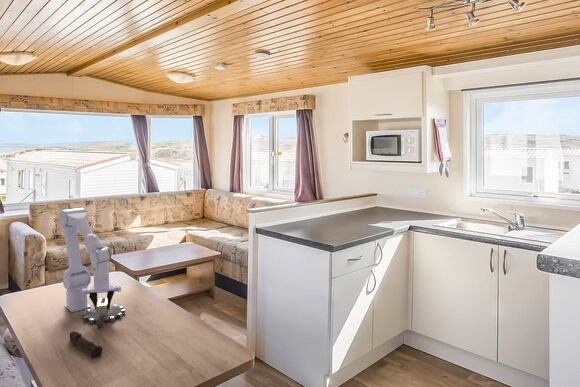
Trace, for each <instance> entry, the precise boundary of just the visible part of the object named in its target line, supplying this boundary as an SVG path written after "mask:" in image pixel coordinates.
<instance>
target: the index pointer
mask: <svg viewBox="0 0 580 387" xmlns="http://www.w3.org/2000/svg"><path fill="white" fill-rule="evenodd" d="M104 323H105V322H103V320H98V321H97V322H96V330H103V329H104V325H105V324H104Z"/></svg>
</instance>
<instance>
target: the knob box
mask: <svg viewBox="0 0 580 387" xmlns="http://www.w3.org/2000/svg"><path fill="white" fill-rule="evenodd" d="M97 302H98V303H97V305H96V320H97V319H106V318H107V316H108V313H109V310H110V309H109V310H108V307H107V303H108V302H107V297H102V298H99V299H97Z"/></svg>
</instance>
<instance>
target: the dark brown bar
mask: <svg viewBox="0 0 580 387" xmlns="http://www.w3.org/2000/svg"><path fill="white" fill-rule="evenodd" d="M68 337H69V342H70V344H71V345H72V346H73V347H74V348H78V349H80V350H81V351H83V352H84V353H86V354H88V355H89V356H90V358H91V359H92V360H94V359H97V358H99V357H101V356H102V354H103V346H100V345H98V344H95V343H94V342H93V341H90V340H88V339H86V338H84V337H83V336H82V333H79V332H78V331H75V330H72V331H71V332H69V336H68Z"/></svg>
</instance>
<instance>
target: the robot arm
mask: <svg viewBox="0 0 580 387" xmlns="http://www.w3.org/2000/svg"><path fill="white" fill-rule="evenodd" d="M57 218H58V219H57V220H58V224H59V228H60V230H63V236H64V240H65V241H64V243H65V248H66V255H67V261H68V266H69V267H68V268H66V270H64V271H63V273H62V274H63V276H62V277H63V279H62V284H63V287H64V289H65V290H66V292H65V293H66V294H65V296H66V304H65V305H64V308H66V309H67V310H69V311H70V312H72V313H75V312H78V311H82V310H86V309H89V308H91V307H92V305H93V308H94V307H95V311H96V305H97V303H98V294H102V293H106V298H107V302H108V303H107V307H108V310H109V309H110V305H111V302H112V299H113V297H114V294H115V292H118V293H119V292H122V286H121V285H110V271H109V270H110V269H109V261H111V259H112V252H111V249H110V248H109V247H108V246H106V245H103V243H102V241H101V240H100V238H99V237H98V235H97V234H95V233H93V232H92V229H91V227H90V225H89V222H88V211H87V210H86V209H85V208H84V207H80V208H79V207H78V208H70V209H61V210H60V211H59V212H58V216H57ZM77 231H78V232H79V233H80V234H81V236H82V237H83V238H84V239H83V244H84V247H86V249H87V251H88V253H89V260H90V264H91V268H92V269H93V270H92V271H93V273H92V274H93V287H89V286H90V284H91V281H92V277H91V276H92V275H91V274H90V271H89V267H86V266H85V265H83V264H82V257H81V256H82V255H81V250H80V243H79V237H78V232H77ZM88 295H89V296H88ZM88 297H89V299H90V301H91V302H92V305H90V304H89V303H88Z"/></svg>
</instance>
